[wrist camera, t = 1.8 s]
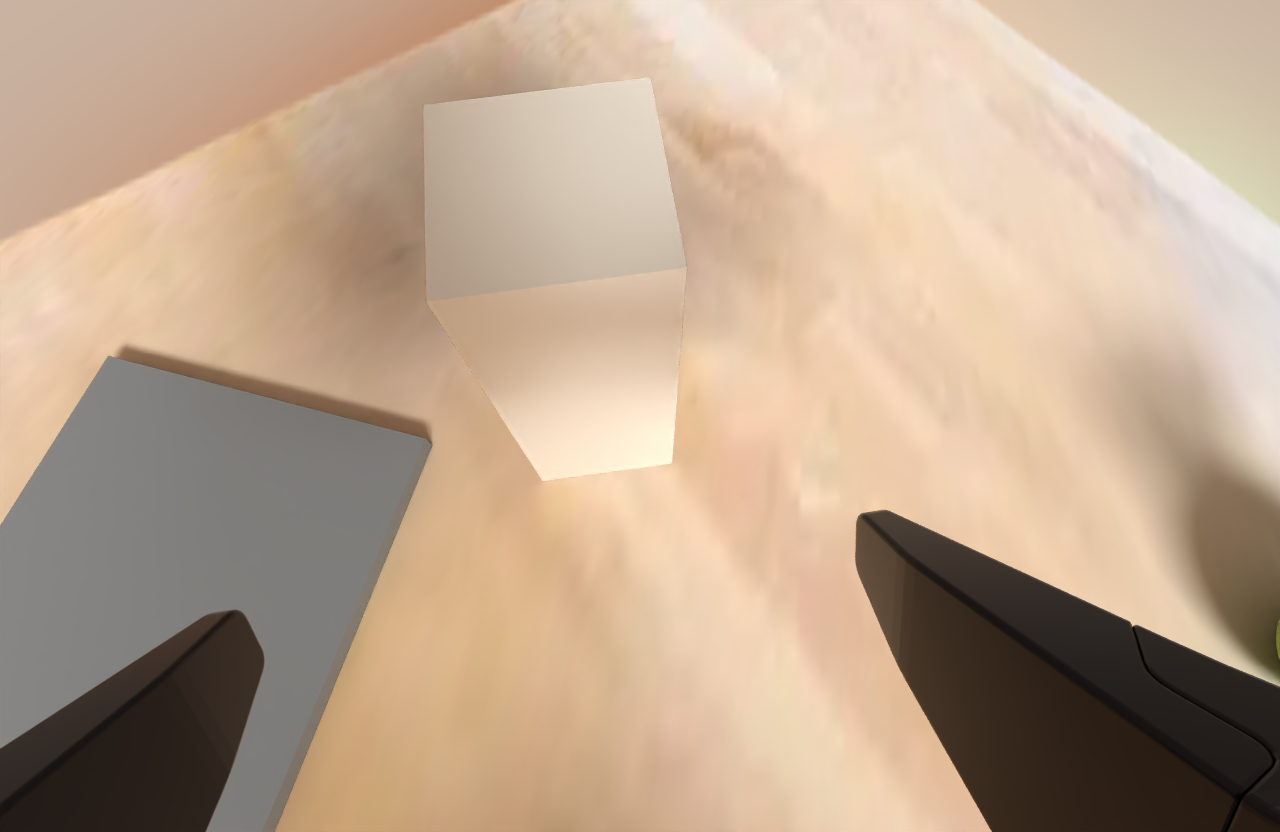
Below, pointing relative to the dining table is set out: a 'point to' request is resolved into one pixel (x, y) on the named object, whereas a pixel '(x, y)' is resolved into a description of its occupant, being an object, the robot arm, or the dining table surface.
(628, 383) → the off-white block
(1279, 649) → the snail figurine
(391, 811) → the dining table surface
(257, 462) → the gray mat
